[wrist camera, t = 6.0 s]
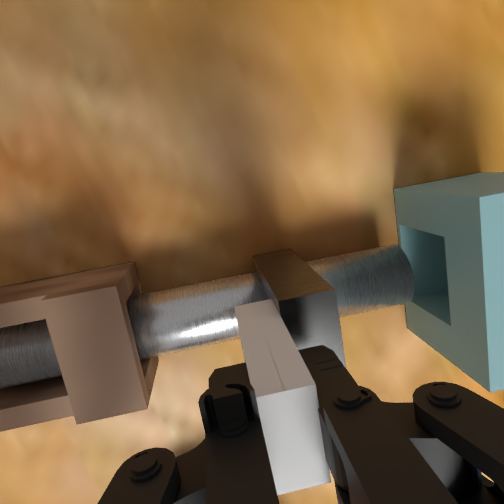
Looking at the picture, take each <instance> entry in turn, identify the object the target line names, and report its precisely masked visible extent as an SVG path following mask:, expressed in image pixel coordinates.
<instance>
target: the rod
mask: <svg viewBox="0 0 504 504" xmlns="http://www.w3.org/2000/svg"><path fill="white" fill-rule="evenodd" d="M253 262H254V267H255V272H252V273H247V274H242V275H237V276H232V277H227V278H222V279H217V280H212V281H207V282H202V283H197V284H192V285H187V286H182V287H177V288H172V289H167V290H162V291H156V292H151V293H146V294H141V295H136V296H131V297H129V298H128V300H127V301H126V307H127V311H128V315H129V319H130V323H131V327H132V331H133V335H134V339H135V343H136V347H137V351H138V355H139V359H145V358H150V357H155V356H159V355H164V354H169V353H174V352H178V351H183V350H188V349H193V348H197V347H202V346H207V345H212V344H216V343H221V342H226V341H231V340H235V339H240V334H239V329H238V323H237V318H236V313H235V308H234V307H235V306H239V305H244V304H249V303H254V302H259V301H264V300H268V299H272V301H273V303H274V304H275V306H276V308H277V310H278V312H279V314H280V316H281V318H282V320H283V322H284V324H285V326H286V328H287V330H288V332H289V334H290V335H291V337H292V339H293V341H294V343H295V345H296V347H297V349H298V350H300V349H305V348H309V347H314V346H319V345H324V346H326V347H328V348H330V349H332V350H333V351H334V352H335V354H336V355H337V356H338V358H339V360H340V361H341V362H342V364H343V366H345V368H346V364H345V357H344V349H343V342H342V335H341V327H340V320H339V318H340V317H345V316H349V315H354V314H359V313H364V312H368V311H373V310H378V309H382V308H387V307H392V306H397V305H401V304H406V303H409V302H410V301H411V300H412V298H413V295H414V277H413V272H412V268H411V265H410V262H409V260H408V258H407V256H406V254H405V253H404V251H403V250H402V249H401V248H400V247H399V246H398V245H395V244H394V245H388V246H383V247H378V248H373V249H368V250H363V251H358V252H353V253H348V254H343V255H338V256H333V257H328V258H323V259H318V260H313V261H308V262H304V261H303V260H302V259H301V258H300V257H299V256H298V255H297V254H296V253H294V252H293V251H292V250H291V249H287V250H281V251H276V252H271V253H266V254H261V255H256V256H253ZM60 376H62V373H61V370H60V366H59V363H58V360H57V356H56V353H55V349H54V346H53V343H52V339H51V336H50V333H49V329H48V326H47V323H46V319H43V320H38V321H33V322H28V323H23V324H18V325H13V326H8V327H3V328H0V389H3V388H8V387H12V386H17V385H22V384H26V383H31V382H36V381H41V380H45V379H50V378H55V377H60Z"/></svg>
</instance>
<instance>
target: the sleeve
mask: <svg viewBox="0 0 504 504" xmlns="http://www.w3.org/2000/svg"><path fill="white" fill-rule="evenodd" d="M141 294H142V290H141V286H140V282H139V277H138V273H137V269H136V265H135V261H134V262H129V263H124V264H119V265H113V266H108V267H103V268H98V269H93V270H87V271H82V272H77V273H72V274H67V275H61V276H56V277H51V278H46V279H40V280H35V281H30V282H25V283H20V284H14V285H9V286H4V287H0V328H3V327H8V326H13V325H18V324H23V323H28V322H33V321H38V320H43V319H46V323H47V326H48V329H49V333H50V336H51V339H52V343H53V346H54V349H55V353H56V356H57V360H58V363H59V366H60V370H61V373H62V376H60V377H55V378H50V379H45V380H41V381H36V382H31V383H26V384H22V385H17V386H12V387H8V388H3V389H0V432H1V431H5V430H10V429H14V428H19V427H24V426H28V425H33V424H37V423H42V422H46V421H51V420H56V419H60V418H65V417H69V416H74V417H75V420H76V424H81V423H86V422H90V421H95V420H99V419H104V418H109V417H113V416H118V415H122V414H127V413H131V412H136V411H140V410H145V409H147V408H148V404H149V400H150V395H151V391H152V387H153V383H154V378H155V374H156V370H157V366H158V356H155V357H150V358H145V359H139V355H138V351H137V347H136V343H135V339H134V335H133V331H132V327H131V323H130V319H129V315H128V311H127V307H126V301H127V300H128V298H129V297H131V296H136V295H141Z"/></svg>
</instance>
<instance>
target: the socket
mask: <svg viewBox="0 0 504 504" xmlns="http://www.w3.org/2000/svg"><path fill="white" fill-rule="evenodd" d="M394 199H395V209H396V219H397V229H398V239H399V247H400V248H401V249H402V250H403V251H404V253H405V254H406V256H407V258H408V260H409V262H410V265H411V268H412V272H413V277H414V295H413V298H412V300H411V301H410V302H409V303H406V304H405V309H406V319H407V328H408V329H409V330H410V331H411V332H413V333H414V334H415V335H417V336H418V337H419V338H421V339H422V340H423V341H424V342H426V343H427V344H428V345H430V346H431V347H432V348H433V349H435V350H436V351H437V352H439V353H440V354H441V355H442V356H444V357H445V358H446V359H448V360H449V361H450V362H452V363H453V364H454V365H455V366H457V367H458V368H459V369H461V370H462V371H463V372H464V373H466V374H467V375H468V376H470V377H471V378H472V379H473V380H475V381H476V382H477V383H479V384H480V385H481V386H482V387H484V388H485V389H486V390H488V391H489V392H495V391H499V390H503V389H504V173H492V172H481V173H476V174H471V175H465V176H460V177H455V178H449V179H444V180H439V181H433V182H428V183H423V184H417V185H412V186H407V187H401V188H396V189H394Z"/></svg>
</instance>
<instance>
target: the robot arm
mask: <svg viewBox="0 0 504 504" xmlns="http://www.w3.org/2000/svg"><path fill="white" fill-rule="evenodd" d="M234 308H235V313H236V318H237V323H238V329H239V334H240V339H241V344H242V349H243V354H244V359H245V363H241V364H237V365H232V366H228V367H223V368H218V369H215V370H214V372H213V373H212V375H211V376H210V378H209V389H207V390H206V391H205V392H204V393H203V394H202V395H201V396H200V399H199V402H198V403H199V407H200V412H201V416H202V421H203V425H204V429H205V439H204V440H203V441H202V443H201V444H199V445H198V446H197V447H196V448H194V449H192V450H191V451H189V452H187V453H185V454H183V455H181V456H179V457H177V458H175V456H174V454H173V452H172V451H170V450H168V449H166V448H152V449H147V450H144V451H141V452H139V453H137V454H135V455H133V456H132V457H130V458H129V459H128V460H126V461H125V462H124V463H123V464H122V465H121V466H120V468H119V469H118V470H117V472H116V473H115V475H114V477H113V478H112V480H111V482H110V484H109V485H108V487H107V489H106V490H105V492H104V494H103V495H102V497H101V499H100V501H99V502H98V504H279V500H278V496H277V495H281V494H285V493H289V492H293V491H297V490H301V489H306V488H310V487H314V486H318V485H322V484H326V483H330V482H331V478H330V471H331V473H332V475H333V478H334V481H335V487H336V494H337V500H338V504H504V409H503V408H501V407H500V406H498V405H496V404H494V403H492V402H490V401H489V400H487V399H485V398H483V397H481V396H480V395H478V394H476V393H474V392H472V391H470V390H469V389H467V388H465V387H462V386H459V385H457V384H453V383H447V382H432V383H428V384H424V385H422V386H420V387H419V388H417V389H416V390H415V392H414V393H413V403H389V402H383V401H380V399H379V398H378V397H377V395H376V394H375V393H374V392H372V391H371V390H370V389H367V388H365V387H362V386H358V385H357V383H356V382H355V380H354V379H353V378H352V376H351V375H350V373H349V372H348V371H347V369H346V368H345V366H343V364H342V362H341V361H340V360H339V358H338V356H337V355H336V354H335V352H334V351H333V350H332V349H330V348H328V347H326V346H324V345H319V346H314V347H309V348H305V349H300V350H298V349H297V347H296V345H295V343H294V341H293V339H292V337H291V335H290V334H289V332H288V330H287V328H286V326H285V324H284V322H283V320H282V318H281V316H280V314H279V312H278V310H277V308H276V306H275V304H274V303H273V301H272V299H268V300H264V301H259V302H254V303H249V304H244V305H239V306H235V307H234ZM329 468H330V471H329ZM481 472H483V473H484V474H485V475H487V476H488V477H489V478H491V479H492V480H493V481H494V483H493V482H492V481H490V480H488V479H487V478H486V477H484V476H483V475H482V473H481Z"/></svg>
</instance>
